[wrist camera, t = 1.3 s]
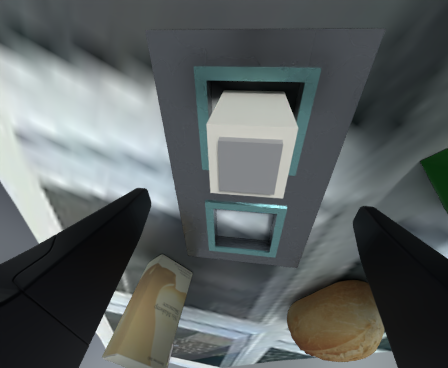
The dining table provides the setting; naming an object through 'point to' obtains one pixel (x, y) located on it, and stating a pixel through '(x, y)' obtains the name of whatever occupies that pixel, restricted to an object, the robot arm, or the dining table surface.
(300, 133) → the socket panel
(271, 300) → the dining table surface
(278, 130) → the plug
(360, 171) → the dining table surface
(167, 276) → the skincare box
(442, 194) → the milk carton
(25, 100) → the dining table surface
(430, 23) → the dining table surface
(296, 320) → the bread roll
